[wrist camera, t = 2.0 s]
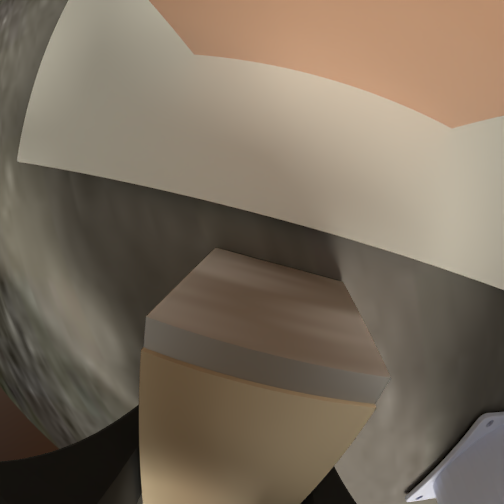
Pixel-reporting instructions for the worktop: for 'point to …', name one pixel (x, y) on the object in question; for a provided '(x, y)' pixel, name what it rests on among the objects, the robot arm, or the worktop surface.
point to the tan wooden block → (251, 384)
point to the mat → (264, 140)
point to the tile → (365, 46)
